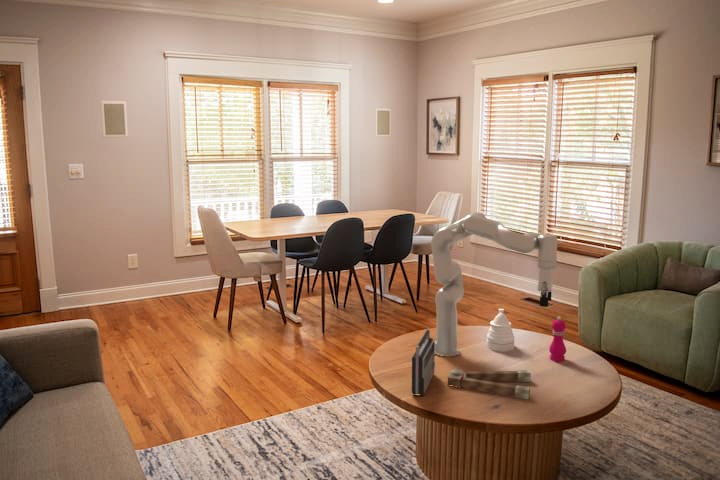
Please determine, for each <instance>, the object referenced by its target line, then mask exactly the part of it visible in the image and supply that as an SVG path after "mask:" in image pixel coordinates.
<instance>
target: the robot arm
mask: <svg viewBox="0 0 720 480" xmlns="http://www.w3.org/2000/svg"><path fill="white" fill-rule="evenodd" d="M472 235H474V236H478V237H480V238H483V239H486V240H490V241H492V242H495V243H496V244H498V245H500V246H502V247H505V248H507V249H508V250H511V251H515V252H518V253H522V254H528V253H532V252H533V251H535V250H538V251H537V268H538V269H539V271H538V284H537V291H538V292H540V296H539V306H540V307H546V308H547V307H548V306H549V301H550V302H551V301H552V289H553V283H554V269H557V259H558V253H557V252H558V237H557V235H555V234H552V233H550V234H549V233H547V234H546V233H544V234H543V233H538V232H526V233H525V234H522V233H519V232H515V231H512V230H510V229H509V228H507V227H506V226H505V225H504V224H503V223H502V222H499V221H497V220H493V219H491V218H487V217H486V216H485V214H483V213H481V212H471V213H470V214H468V215H465V217H463V218H461V219H460V220H457V221H456V222H454V223H451V224H448V225H445V226H444V227H441V228H440V229H438V230H437V231H436V232H435V233H434V234H433V236H432V238H431V243H430V244H431V252H432V253H431V254H432V260H433V261H432V263H433V271H434V277H435V280H436V281H437V283H439V284H441V285H443V286H442V287H441V288H439V290H437V292H436V293H435V297H434V300H435V302H434V303H435V308H436V309H435V310H436V312H435V313H436V331H435V332H436V336H435V337H436V339H435V353H437V354H439V355H443V356H453V357H457V356H459V355H460V353H461V349H460V348H458V310H457V304H458V303H459V302H460V301H461V300H462V299H463V297H464V294H465V292H464V291H465V290H464V280H463V279H464V278H463V272H462V268H461V265H460V264H459V263H458V262H457V261H456V260H453V257H452V255H453V254H452V251H451V249H450V246H451V245H453V244H455V243H458V242H459V241H462V240H464V239H466V238H468V237H471V236H472ZM456 355H457V356H456Z"/></svg>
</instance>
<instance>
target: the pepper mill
mask: <svg viewBox="0 0 720 480" xmlns="http://www.w3.org/2000/svg"><path fill="white" fill-rule="evenodd" d="M551 328H552V334H553V339H552V341H551V343H550V346H549V349H548V351H549V353H550V355H549V360H551V361H552V362H557V363H562V362H565V354H566V353H567V348H566V346H565V342H564V335H565V330H566V328H567V324H566V323H565V321H564V320H562V317H561V316H558V317H556V319H555V320H553V322H552V323H551Z"/></svg>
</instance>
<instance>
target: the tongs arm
mask: <svg viewBox="0 0 720 480" xmlns="http://www.w3.org/2000/svg"><path fill="white" fill-rule="evenodd" d="M465 377H466V378H472V379H478V380H484V381H490V382H496V383H501V382H502V383H504V382H507V383H509V382H511V383H512V382H519V383H521V382H522V383H523V382H524V383H525V382H527V383H528V382H531V380H532V379H531V377H532V372H531V371H530V370H529V369H516V370H484V371H483V370H477V371H475V370H468V371H467V370H466V372H465Z"/></svg>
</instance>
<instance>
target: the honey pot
mask: <svg viewBox="0 0 720 480" xmlns="http://www.w3.org/2000/svg"><path fill="white" fill-rule="evenodd" d="M504 310H505V309H504V308H498V314H497V315H495V317H494V318H493V320H491V321H490V322H489V325H490V327H489V330H488V332H487V334H486V348H488V349H489V350H492V351H496V352H511V351H513V350H514V349H515V334H514V333H513V329H512V327H511V326H512V323H511V322H510V321H509V319H508V317H507V316H506V314H505V313H504Z"/></svg>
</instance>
